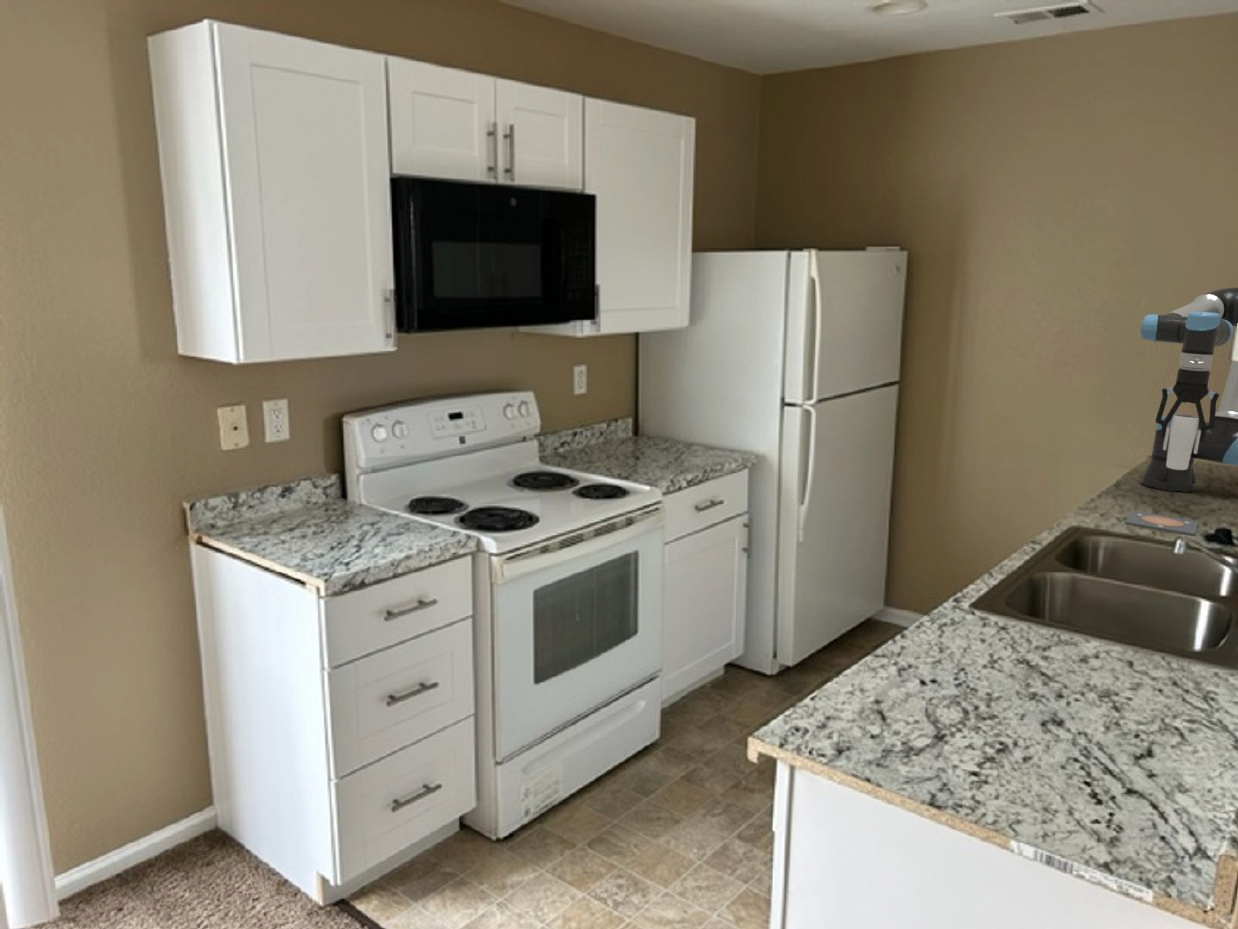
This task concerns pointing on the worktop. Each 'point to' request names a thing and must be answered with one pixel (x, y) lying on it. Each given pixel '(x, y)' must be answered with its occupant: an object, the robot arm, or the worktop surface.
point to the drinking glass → (1181, 440)
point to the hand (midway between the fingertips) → (1179, 450)
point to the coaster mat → (1162, 523)
